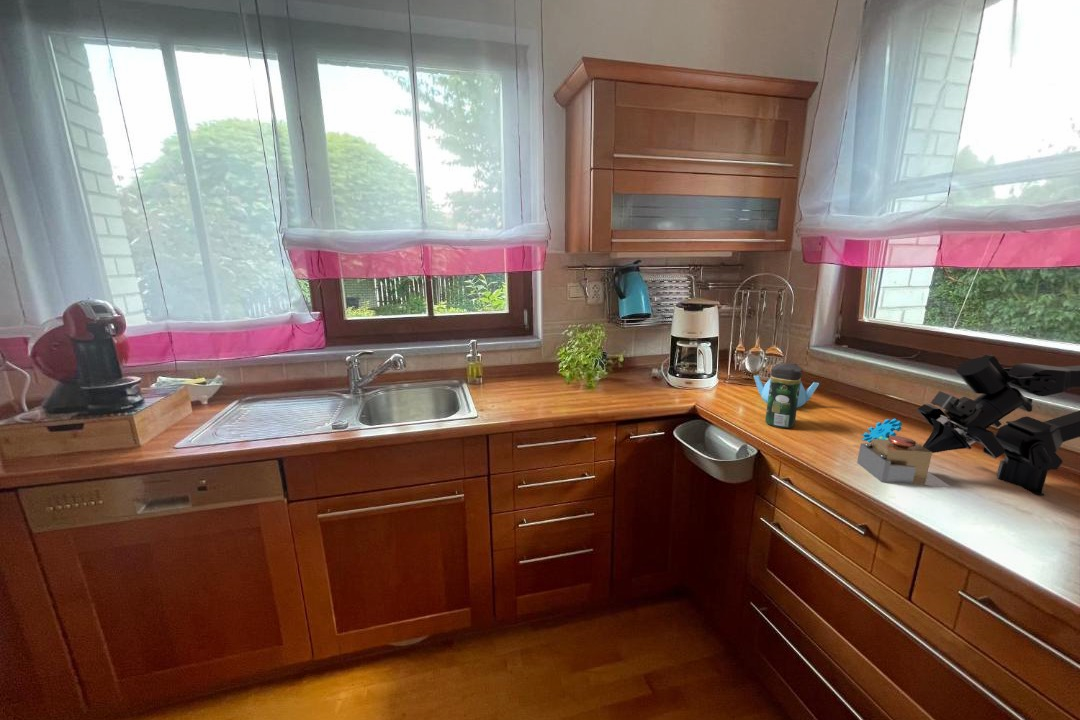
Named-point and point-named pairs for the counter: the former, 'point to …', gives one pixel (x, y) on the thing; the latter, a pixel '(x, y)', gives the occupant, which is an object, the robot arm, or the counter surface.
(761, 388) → the teapot
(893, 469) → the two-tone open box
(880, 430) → the gear
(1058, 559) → the counter surface
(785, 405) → the coffee jar
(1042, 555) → the counter surface
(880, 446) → the tan box
